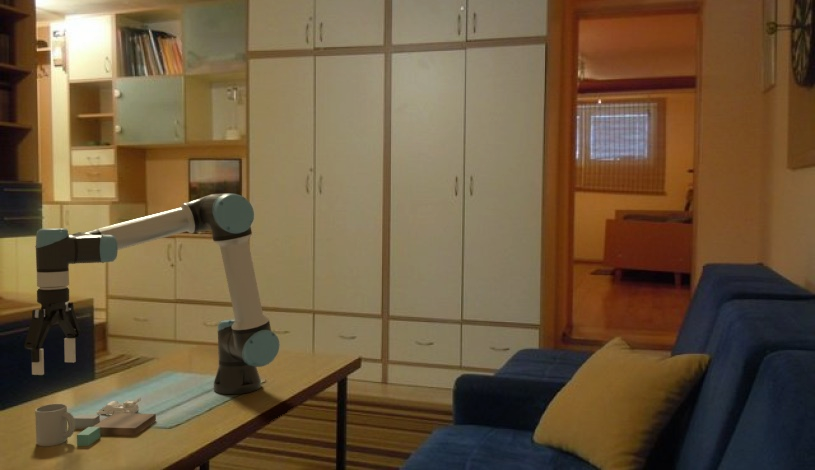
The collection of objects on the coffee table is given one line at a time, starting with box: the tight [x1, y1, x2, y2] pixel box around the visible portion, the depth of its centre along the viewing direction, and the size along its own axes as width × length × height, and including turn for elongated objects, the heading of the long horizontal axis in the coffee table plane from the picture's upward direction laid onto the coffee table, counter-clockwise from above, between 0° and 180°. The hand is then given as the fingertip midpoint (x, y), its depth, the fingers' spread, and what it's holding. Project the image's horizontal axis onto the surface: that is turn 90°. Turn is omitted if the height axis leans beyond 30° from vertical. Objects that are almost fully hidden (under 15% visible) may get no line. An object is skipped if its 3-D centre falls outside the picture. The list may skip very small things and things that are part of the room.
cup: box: [34, 403, 76, 447], centre depth 177 cm, size 7×10×9 cm
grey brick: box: [73, 414, 101, 430], centre depth 189 cm, size 6×3×3 cm, turn 89°
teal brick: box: [76, 427, 101, 447], centre depth 177 cm, size 6×3×3 cm, turn 177°
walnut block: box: [93, 412, 157, 437], centre depth 188 cm, size 12×12×2 cm
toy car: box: [96, 397, 142, 414], centre depth 202 cm, size 6×12×4 cm, turn 87°
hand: (54, 368), depth 180 cm, fingers open, 13 cm apart
